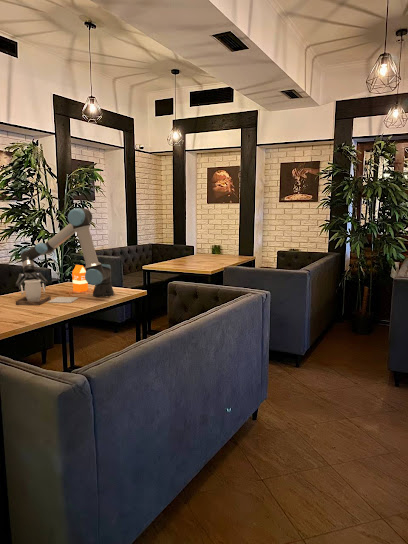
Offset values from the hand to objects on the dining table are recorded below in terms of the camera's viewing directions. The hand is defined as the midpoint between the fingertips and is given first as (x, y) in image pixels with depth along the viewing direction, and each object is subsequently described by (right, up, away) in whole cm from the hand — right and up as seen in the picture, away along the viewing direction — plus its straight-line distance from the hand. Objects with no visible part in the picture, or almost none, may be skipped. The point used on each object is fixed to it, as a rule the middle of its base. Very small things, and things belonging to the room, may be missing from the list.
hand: (33, 292), depth 270 cm
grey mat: (+17, -6, +9) cm, 20 cm away
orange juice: (+18, -1, +45) cm, 48 cm away
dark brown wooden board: (-1, -6, +3) cm, 7 cm away
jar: (-1, -7, +3) cm, 7 cm away
